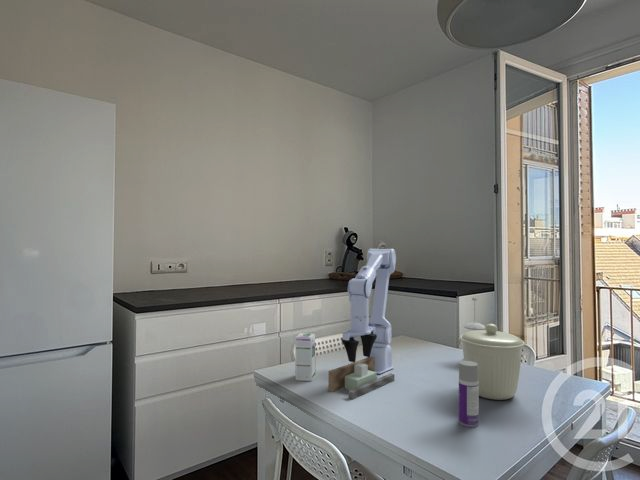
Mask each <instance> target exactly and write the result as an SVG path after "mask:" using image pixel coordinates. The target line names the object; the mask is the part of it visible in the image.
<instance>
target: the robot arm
mask: <svg viewBox="0 0 640 480" xmlns="http://www.w3.org/2000/svg"><path fill="white" fill-rule="evenodd" d="M366 261H367V262H366V264H365V265H363V266H361V267H360V269H359V271H358V273H357V274H356V275H355V278H351V279H350V280H349V281H348V283H347V284H348V285H347V295H348V300H349V302H350V329H348V330H347V331H345V332H342V337H341V343H342V344H343V346H344V348H345V351H346V355H347V360H348V362H350V363H354V362H356V360H357V350H358V346H359V344H360V341H359V340H356V339H355V338H359V337H360V340H361V346H362V354H363V357H365V358H368V357H375V372H377V375H381V374H383V373H386V372H389V371H391V370H393V369H395V367H394V366H393V350H392V347H391V345H390V343H391V342H392V338H393V337H392V335H393V333H392V324H391V322H390V321H388V319H386V309H387V301H388V293H389V283H390V282H389V281H390V276H391V274H393V273H395V269H396V263H397V255H396V250H395V249H394V248H371V247H370V248H369V249H368V250H367V252H366ZM374 281H375V285H374V293H373V294H374V295H373V302H372V309H371V310H372V311H371V316H370V315H369V298H370V296H371V293H372V289H373V283H374ZM369 316H370V317H369Z"/></svg>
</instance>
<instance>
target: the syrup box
mask: <svg viewBox="0 0 640 480" xmlns="http://www.w3.org/2000/svg"><path fill="white" fill-rule="evenodd" d="M294 345H295V347H294V355H295V358H294V359H295V360H294V362H295V363H294V364H295V373H294V374H295V380H296V381H302V382H303V381H304V382H313V380H314V379H315V377H316V334H315V333H311V332H301V333H298V334H297V335H296V336H295V337H294Z"/></svg>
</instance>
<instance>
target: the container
mask: <svg viewBox="0 0 640 480" xmlns="http://www.w3.org/2000/svg"><path fill="white" fill-rule="evenodd" d="M458 365H459V366H458V423H459V424H460V425H462V426H465V427H468V428H477V427H478V426H479V423H480V422H479V421H480V419H479V418H480V416H479V410H480V409H479V408H480V407H479V406H480V405H479V403H480V402H479V397H480V396H479V381H478V364H477V363H476V362H472V361H459V364H458Z"/></svg>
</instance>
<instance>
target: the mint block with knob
mask: <svg viewBox="0 0 640 480" xmlns="http://www.w3.org/2000/svg"><path fill="white" fill-rule="evenodd" d="M377 375H378V374H377V372H373V371H369V370H368V365H366V364H363V363H358V364H356V365H354V373H352V374H350V375H347V376H345V387H344V389H345V390H348V391H350V390H353V389H355V388H357V387H360V386H362V385H364V384H367V383H369V382H371V381H374V380H376V379H378V378H377V377H378V376H377Z"/></svg>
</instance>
